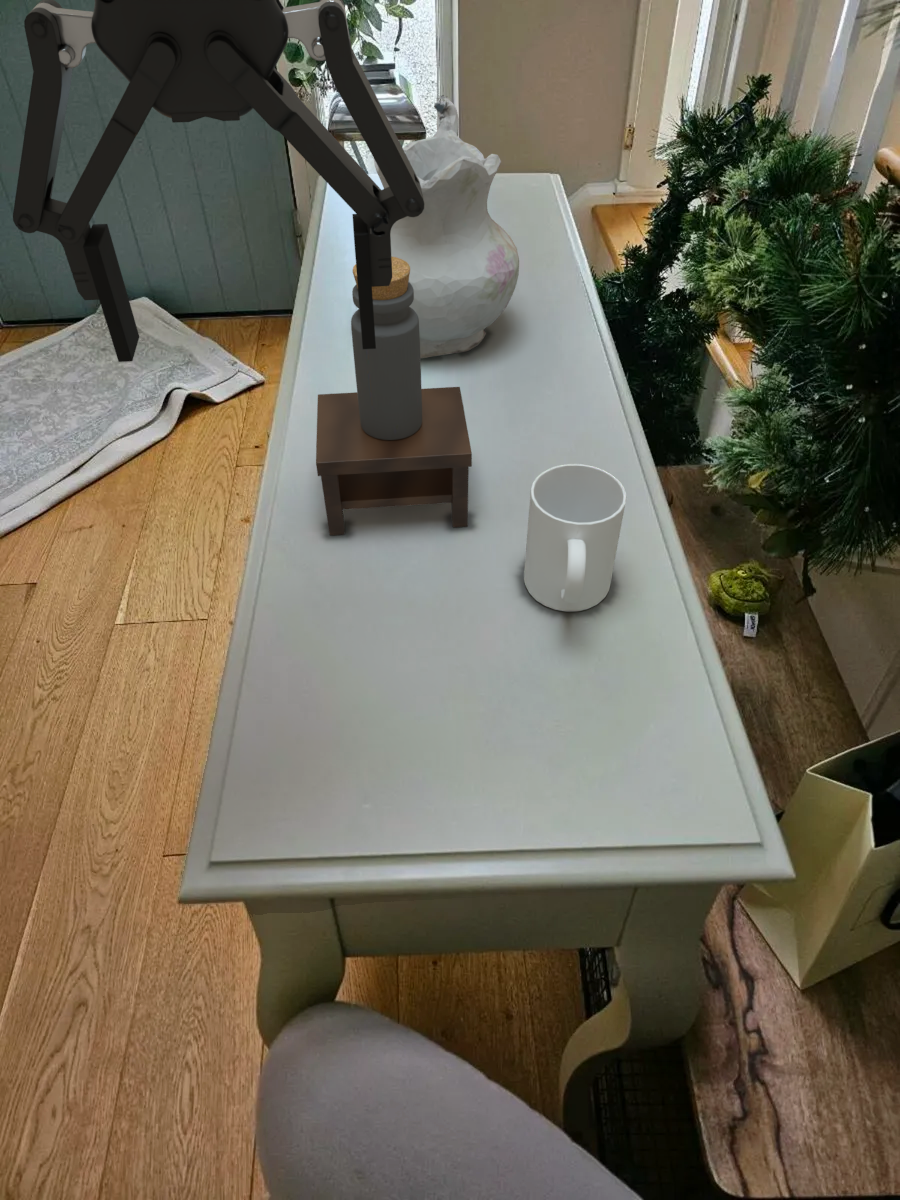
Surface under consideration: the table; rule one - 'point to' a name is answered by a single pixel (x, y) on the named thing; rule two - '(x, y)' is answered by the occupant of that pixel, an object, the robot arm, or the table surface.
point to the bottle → (389, 360)
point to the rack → (393, 458)
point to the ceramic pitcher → (454, 241)
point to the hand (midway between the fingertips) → (250, 343)
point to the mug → (573, 536)
